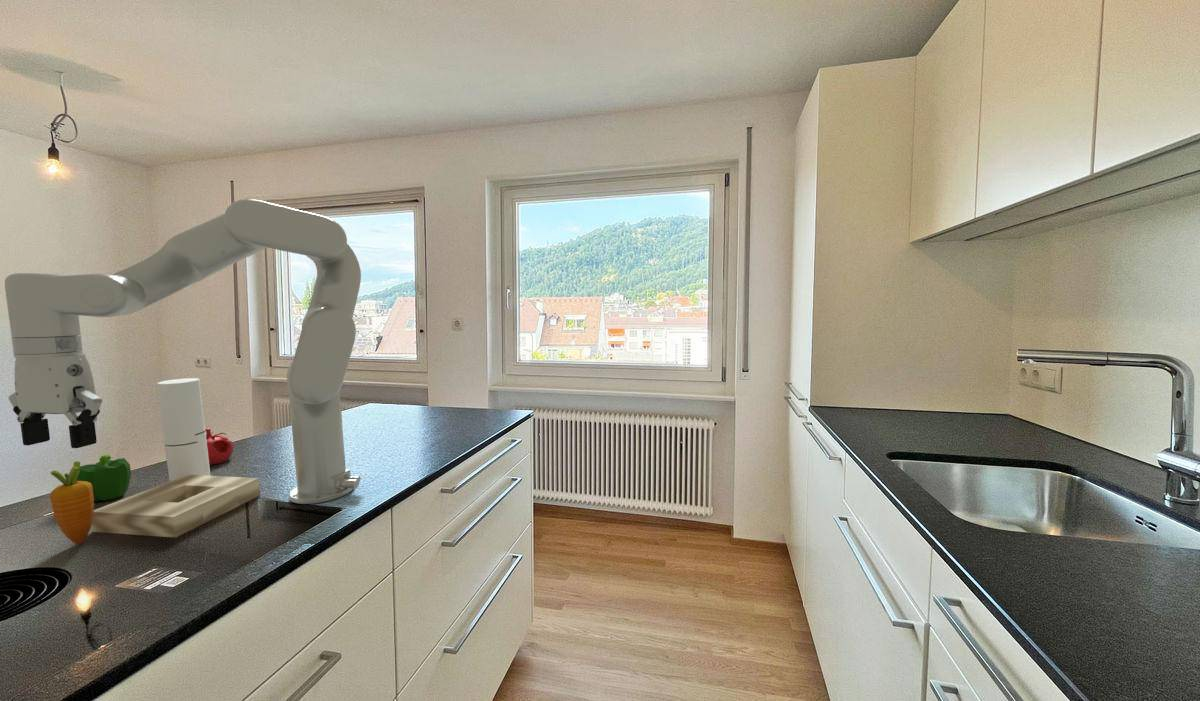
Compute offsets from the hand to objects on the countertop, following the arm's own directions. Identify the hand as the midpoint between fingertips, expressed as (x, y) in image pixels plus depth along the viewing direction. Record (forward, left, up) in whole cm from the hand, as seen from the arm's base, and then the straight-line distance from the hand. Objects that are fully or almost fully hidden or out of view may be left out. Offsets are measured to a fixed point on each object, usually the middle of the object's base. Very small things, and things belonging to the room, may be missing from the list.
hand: (60, 444), depth 79 cm
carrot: (0, 0, -19) cm, 19 cm away
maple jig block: (-6, -13, -19) cm, 24 cm away
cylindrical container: (+6, -25, -19) cm, 32 cm away
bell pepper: (+18, -17, -19) cm, 31 cm away
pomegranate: (+16, -39, -19) cm, 46 cm away
